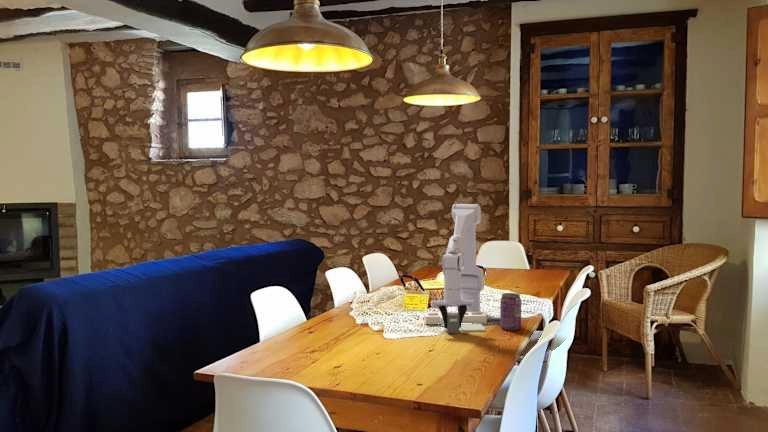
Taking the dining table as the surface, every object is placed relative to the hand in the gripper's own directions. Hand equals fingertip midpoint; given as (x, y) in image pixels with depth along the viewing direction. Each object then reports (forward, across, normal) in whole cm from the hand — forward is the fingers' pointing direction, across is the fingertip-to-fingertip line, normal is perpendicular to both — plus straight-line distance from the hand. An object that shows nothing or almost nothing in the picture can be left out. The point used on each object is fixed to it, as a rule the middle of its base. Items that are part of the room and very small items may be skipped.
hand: (452, 327), depth 208 cm
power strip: (+2, +6, +12) cm, 14 cm away
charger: (+1, 0, +2) cm, 2 cm away
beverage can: (+2, +21, +3) cm, 21 cm away
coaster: (+2, +8, +4) cm, 9 cm away
